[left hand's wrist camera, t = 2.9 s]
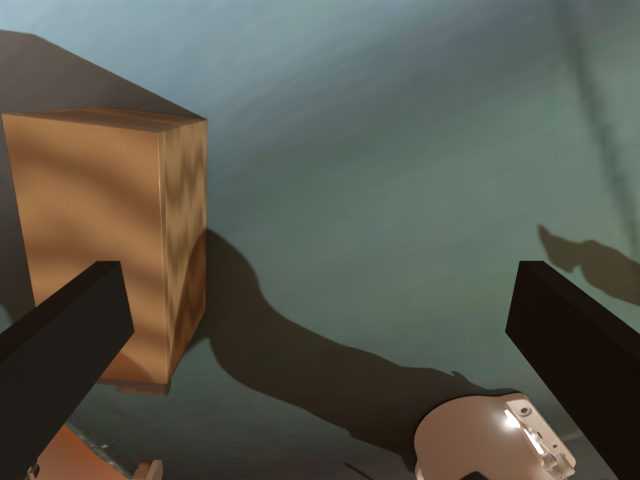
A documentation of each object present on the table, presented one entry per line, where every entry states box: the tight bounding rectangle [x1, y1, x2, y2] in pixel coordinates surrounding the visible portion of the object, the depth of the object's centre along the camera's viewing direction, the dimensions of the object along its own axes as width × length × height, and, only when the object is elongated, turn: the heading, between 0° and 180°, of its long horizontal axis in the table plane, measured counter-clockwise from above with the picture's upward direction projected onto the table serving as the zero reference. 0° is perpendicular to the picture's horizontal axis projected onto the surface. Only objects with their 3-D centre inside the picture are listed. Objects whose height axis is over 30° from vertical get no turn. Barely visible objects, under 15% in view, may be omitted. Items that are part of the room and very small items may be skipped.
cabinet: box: [1, 106, 207, 384], centre depth 34 cm, size 21×10×12 cm, turn 173°
